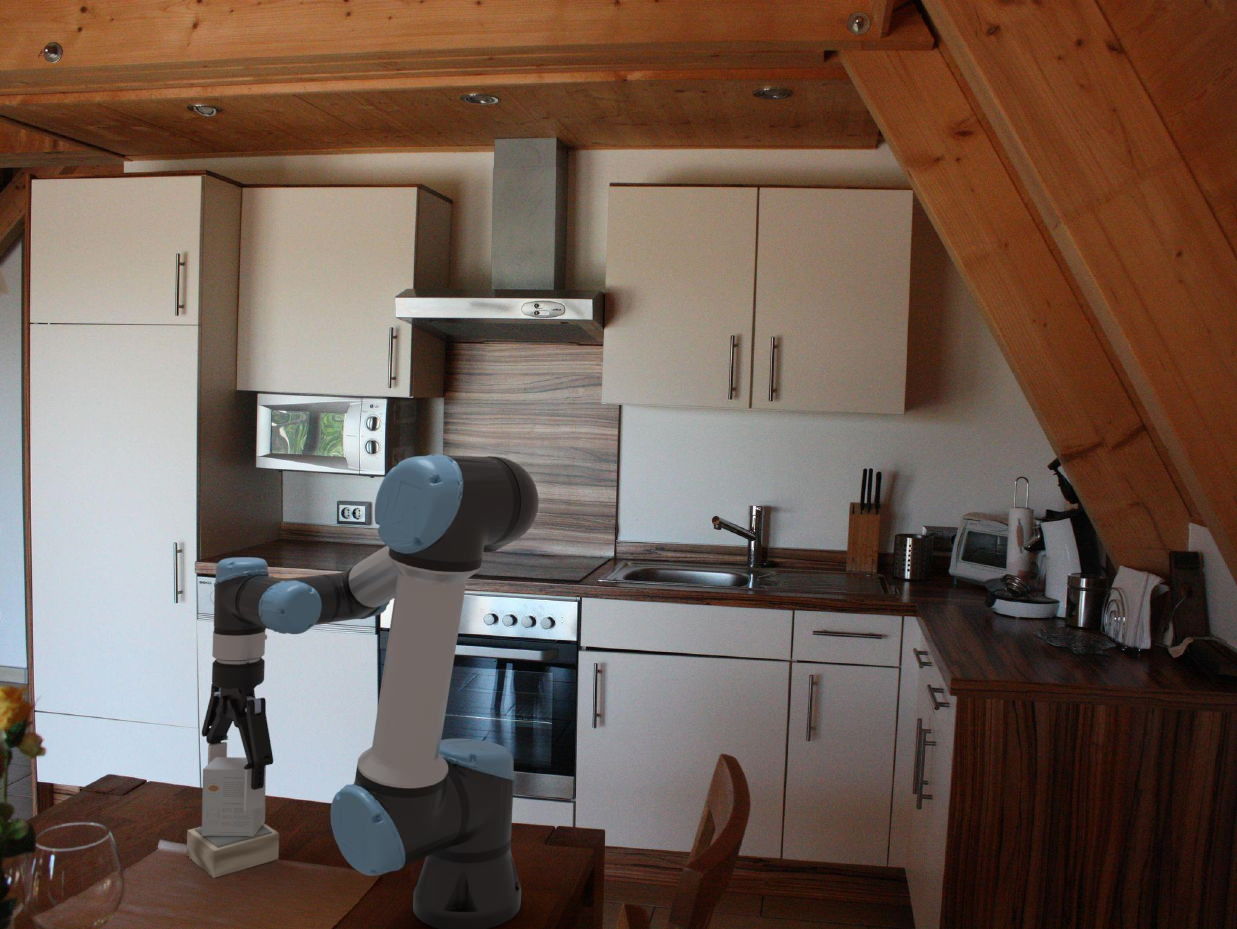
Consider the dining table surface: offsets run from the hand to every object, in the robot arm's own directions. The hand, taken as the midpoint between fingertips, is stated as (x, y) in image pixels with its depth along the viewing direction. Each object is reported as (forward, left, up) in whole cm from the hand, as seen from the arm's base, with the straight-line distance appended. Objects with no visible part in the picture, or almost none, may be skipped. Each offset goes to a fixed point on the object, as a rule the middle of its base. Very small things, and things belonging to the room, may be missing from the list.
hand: (234, 796), depth 149 cm
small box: (0, 0, -6) cm, 6 cm away
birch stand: (0, 0, -10) cm, 10 cm away
